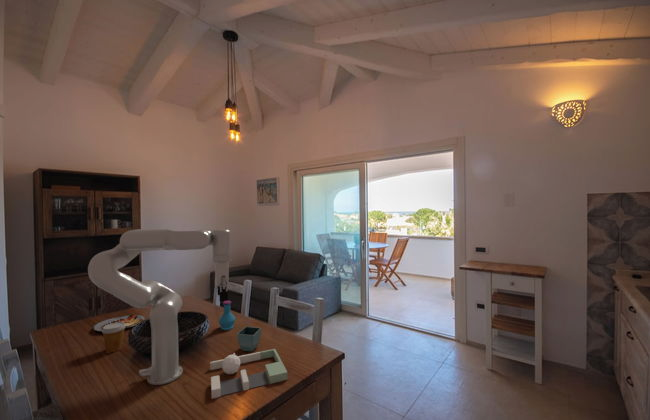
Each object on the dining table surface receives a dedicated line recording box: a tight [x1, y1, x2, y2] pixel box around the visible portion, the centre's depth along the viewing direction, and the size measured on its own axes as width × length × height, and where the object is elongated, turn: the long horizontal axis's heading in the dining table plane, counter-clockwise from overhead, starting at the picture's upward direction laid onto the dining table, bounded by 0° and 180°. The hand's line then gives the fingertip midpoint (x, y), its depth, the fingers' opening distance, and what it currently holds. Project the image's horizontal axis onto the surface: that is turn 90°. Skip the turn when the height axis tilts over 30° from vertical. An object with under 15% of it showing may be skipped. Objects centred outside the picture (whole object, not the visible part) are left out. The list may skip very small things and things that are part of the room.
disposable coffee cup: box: [101, 322, 126, 354], centre depth 138 cm, size 10×10×12 cm
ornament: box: [221, 352, 241, 375], centre depth 118 cm, size 7×7×8 cm
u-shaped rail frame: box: [209, 348, 288, 400], centre depth 116 cm, size 28×21×3 cm
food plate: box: [93, 314, 146, 332], centre depth 168 cm, size 25×23×4 cm
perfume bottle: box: [218, 300, 237, 331], centre depth 164 cm, size 9×9×15 cm
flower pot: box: [237, 326, 262, 352], centre depth 137 cm, size 9×9×9 cm
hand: (222, 297), depth 121 cm, fingers open, 9 cm apart
